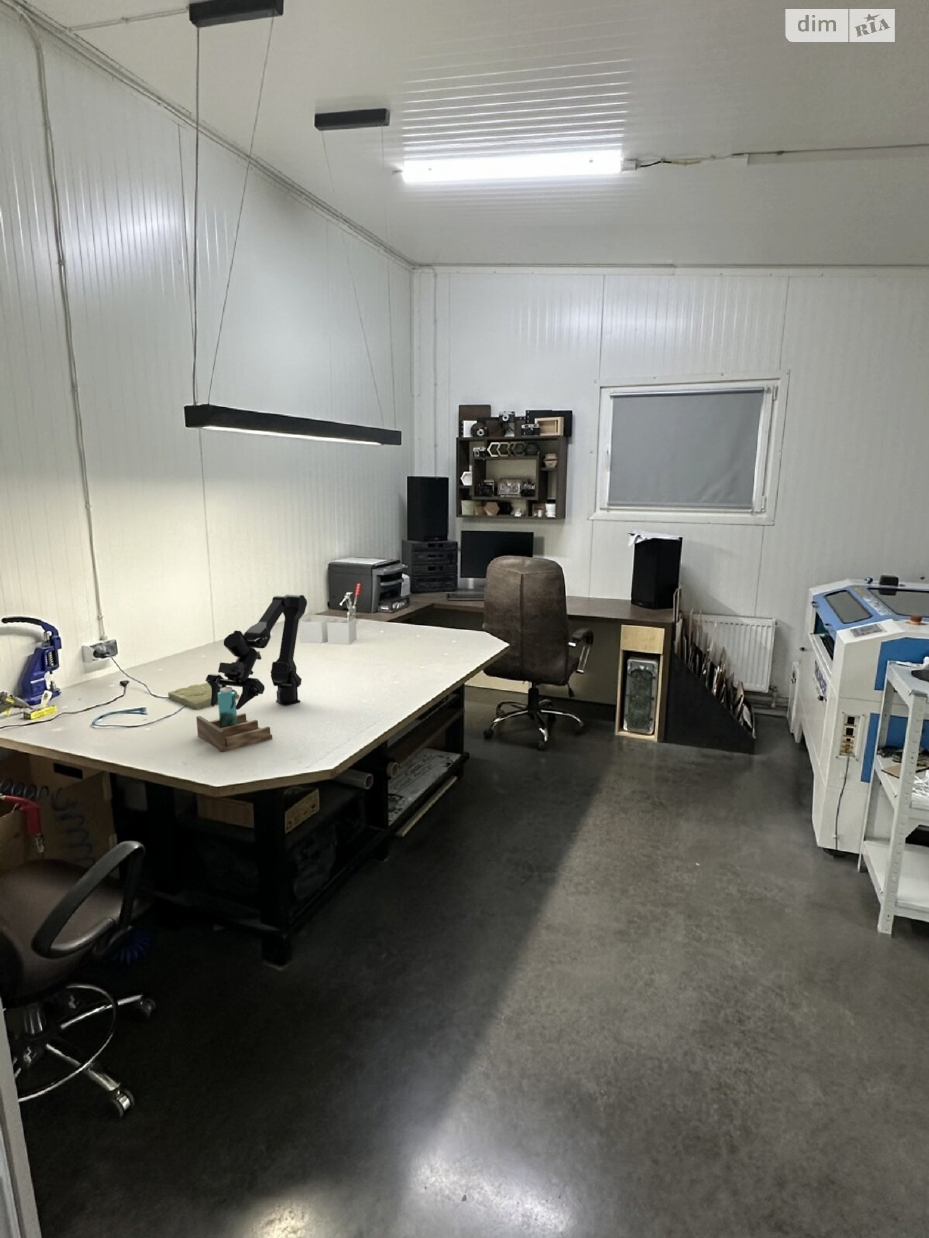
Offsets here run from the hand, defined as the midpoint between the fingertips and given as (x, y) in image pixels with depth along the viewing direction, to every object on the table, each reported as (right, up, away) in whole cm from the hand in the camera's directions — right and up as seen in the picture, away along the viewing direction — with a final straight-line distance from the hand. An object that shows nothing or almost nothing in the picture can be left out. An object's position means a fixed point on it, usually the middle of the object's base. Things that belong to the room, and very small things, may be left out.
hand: (224, 707), depth 209 cm
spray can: (0, -7, +3) cm, 8 cm away
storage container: (+7, +16, +128) cm, 130 cm away
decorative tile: (-21, -2, +39) cm, 44 cm away
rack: (+3, -9, 0) cm, 10 cm away
